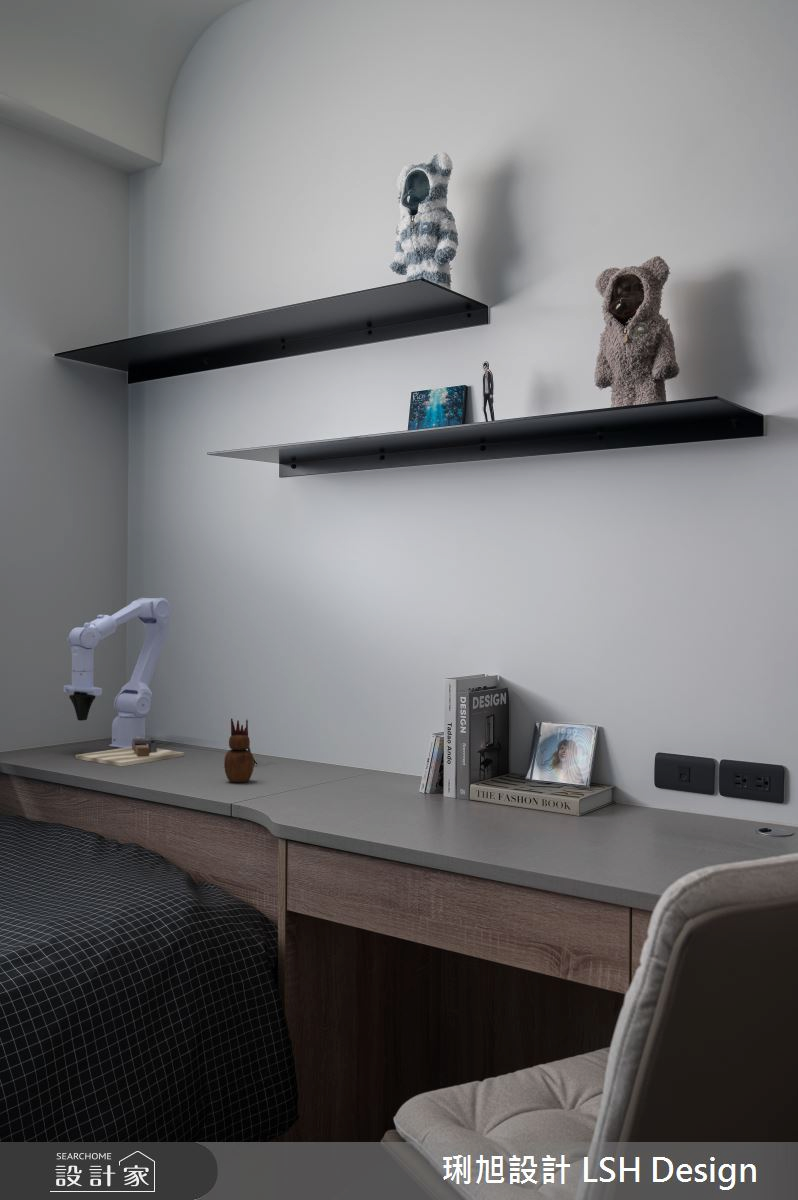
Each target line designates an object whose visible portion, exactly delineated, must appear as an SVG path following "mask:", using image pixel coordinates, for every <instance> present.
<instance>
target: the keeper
mask: <svg viewBox="0 0 798 1200" xmlns="http://www.w3.org/2000/svg"><path fill="white" fill-rule="evenodd" d="M132 743H134V744H148V747H149V752H150V753H155V752H157V749H158V747H157V746H158V744H157V743H158V741H157V739H156V738H154V737H151V738H149V737H148V738H146V737H145V739H132Z"/></svg>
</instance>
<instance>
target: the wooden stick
mask: <svg viewBox="0 0 798 1200" xmlns="http://www.w3.org/2000/svg"><path fill="white" fill-rule="evenodd" d="M135 739H142V737H135ZM147 744H148V743H146V744H134V743H132V748H133V749H134V751H135V753H136V754H137V756H147V755H149V747H148V745H147Z"/></svg>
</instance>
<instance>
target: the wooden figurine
mask: <svg viewBox="0 0 798 1200" xmlns="http://www.w3.org/2000/svg"><path fill="white" fill-rule="evenodd" d="M250 741H251V739H250V737H249V735H248V736H247V730H246V727H245V728H244V725H243V724H241V726H240V721H239V720H237V722H236V727H235V723H234V721H233V718H230V737H229V739H228V746H229V747H228V748H229V749H230V750H228V751H227V752H226V753H225V756H224V760H223V761H224V763H223V764H224V767H223V768H224V772H225V776H226V778H227V780H228V781H229V782H231V783H234V782H243V783H246V782H248V781H250V779H251V777H252V774H253V772H254V768H255V767H254V759H255V758H254V755H253V752H252V751H251V750H250V751H251V752H250V751H248V748H249V747H250V746H249V745H251V744H250V743H251V742H250Z"/></svg>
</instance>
